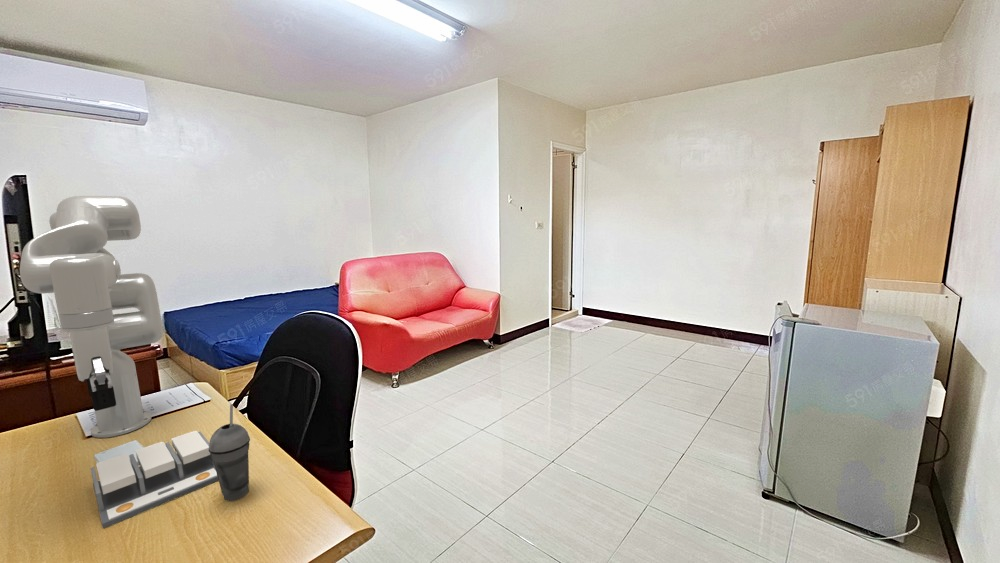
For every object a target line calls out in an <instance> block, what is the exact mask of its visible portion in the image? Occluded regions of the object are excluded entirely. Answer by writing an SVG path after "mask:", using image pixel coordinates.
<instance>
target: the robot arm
mask: <svg viewBox="0 0 1000 563" xmlns="http://www.w3.org/2000/svg"><path fill="white" fill-rule="evenodd" d="M139 213H140V212H139V211H138V208H137V207H136V205H135V203H134V202H133V201H132V200H131V199H129V198H127V197H125V196H118V195H114V196H113V195H110V196H109V195H76V196H75V195H74V196H69V197H66V198H64V199H62V201H60V202H59V203H58V205H57V208H56V212H54V213H52V214H51V215H50V217H49V220H48V222H49V226H50V230H48V231H46V232H44V233H42V234H39V235H37V236H36V237H34V238H32V239H30V240H29V241H28V242H27V243H26V244H25V245H24V247H23V249H22V252H21V258H20V263H19V264H20V265H19V276H20V281H21V282H22V285H23V287H24V288H25V289H27V290H28V291H30V292H31V293H35V294H41V295H43V294H54V299H55V304H56V310H57V313H58V318H59V325H60V330H61V332H67V333H68V332H69V337H70V344H71V350H72V356H73V360H74V365H75V370H76V375H77V378H78V381H81V382H85V380H86V385H87V390H88V396H89V397H90V398H91V400H92V402H91V403H92V406H93V411H94V414H95V418H96V419H95V420H96V424H95V425H93V426H92V427H91V428H90V435H91V436H92V437H94V438H99V439H101V438H110V437H111V438H112V437H117V436H121V435H125V434H128V433H131V432H134V431H136V430H138V429H140V428H143V427H145V426H146V425H148V424H149V423H150V421H151V420H152V414H151V413H150V412H146V411H144V409H143V403H142V398H141V397H142V396H141V392H140V386H139V380H138V375H137V370H136V369H137V368H136V363H135V361H134V359H133V358H132V357H131V356H129V354H127V353H125V352H123V351H121V350H123V349H127V348H128V349H129V348H134V347H140V346H146V345H151V344H156V343H157V342H160V341H161V340H162V339H163V335H164V329H163V328H164V327H163V321H162V315H161V310H160V305H159V299H158V293H157V289H156V286H155V285H156V284H155V283H154V280H153V278H152V277H151V276H150V275H149V274H145V273H140V272H139V273H137V272H136V273H124V274H122V272H121V265H120V263H119V261H118V260H117V259H116V258H115V256H114V255H113V254H112V253H111V252H109V251H108V250H107V249H105V248H104V247H105V246H106V244H107V243H108V242H112V241H114V242H115V241H129V240H130V241H131V240H135V239H137V238H139V237H140V234H141V231H142V225H141V220H140V214H139ZM133 308H134V309H137V310H138V311H131V312H124V313H123V312H122V313H115V314H114V312H113V311H117V310H124V309H133Z"/></svg>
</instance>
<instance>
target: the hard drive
mask: <svg viewBox="0 0 1000 563" xmlns="http://www.w3.org/2000/svg"><path fill="white" fill-rule="evenodd" d="M144 447H145V446H143V444H141V443H140V441H138V440H136V439H135V440H131V441H129V442H126V443H122V444H120V445H118V446H115V447H112V448H109V449H106V450H104V451H100V452H97V453H96V454H94V456H93V459H94V460H95V461H96V463H98V462H101V461H105V460H108V459H111V458H114V457H117V456H120V455H123V454H126V453H127V456H128V458H129V461H130V457H129V455H131V454H133V455H134V457H135V459H136V462H137V464H138V466H140V464H139V462H138V460H137V457H136V451H135V450H138V449H141V448H144Z"/></svg>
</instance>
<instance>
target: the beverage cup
mask: <svg viewBox="0 0 1000 563" xmlns="http://www.w3.org/2000/svg"><path fill="white" fill-rule="evenodd" d="M250 441H251V437H250V435H249V433H248V431H247V429H246V428H245V427H244V426H242V425H241V424H237V423H234V404H232V403H231V404H230V405H229V423H227V424H224V425H222V426H220V427H219V428H217V429H216V430H215V431H214V433H213V434H212V435H211V437H210V439H209V452H210V455H211V457H212V459H213V461H214V465H215V469H216V472H217V476H218V480H219V481H218V484H219V487H220V491H221V494H222V497H223V500H224V501H226V502H236V501H238V500H241V499H242V498H245V497H246V496H247V494H248V493H249V488H250V486H249V485H250V470H249V450H250Z"/></svg>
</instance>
